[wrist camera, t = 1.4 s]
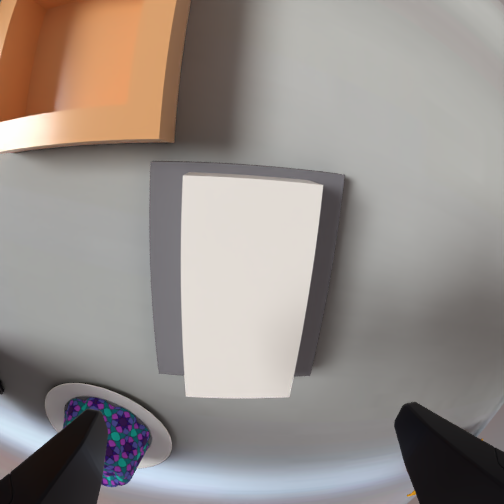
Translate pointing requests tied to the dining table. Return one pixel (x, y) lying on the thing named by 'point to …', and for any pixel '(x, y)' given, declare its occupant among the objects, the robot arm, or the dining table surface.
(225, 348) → the cover board
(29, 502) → the robot arm
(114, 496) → the dining table surface
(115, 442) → the pudding
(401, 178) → the dining table surface
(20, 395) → the dining table surface
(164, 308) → the mat
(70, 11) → the dish
